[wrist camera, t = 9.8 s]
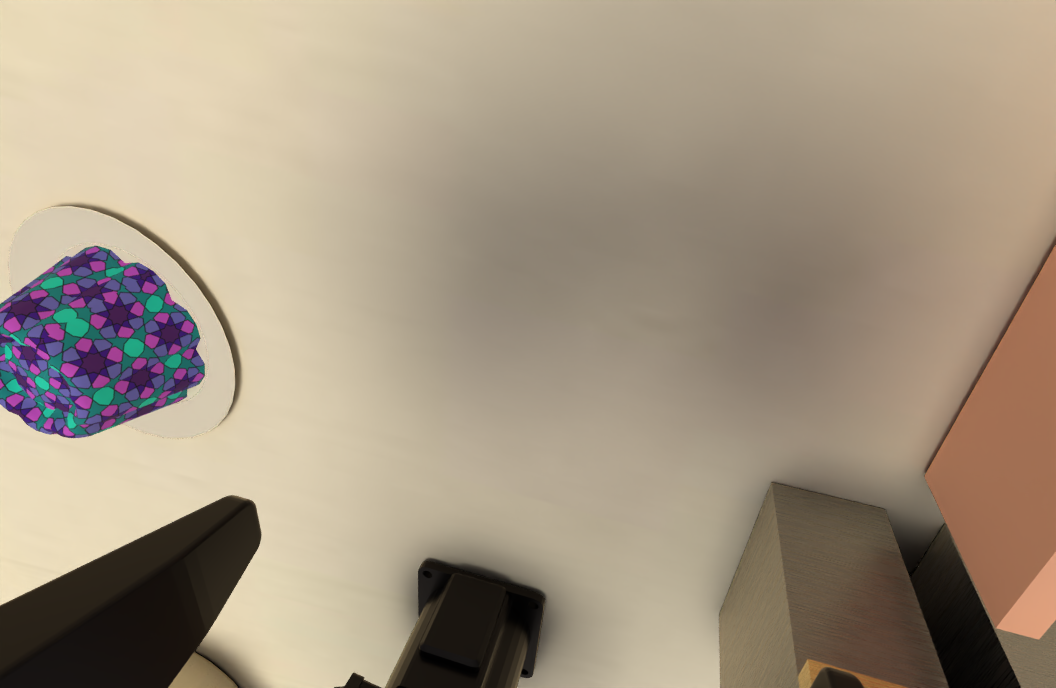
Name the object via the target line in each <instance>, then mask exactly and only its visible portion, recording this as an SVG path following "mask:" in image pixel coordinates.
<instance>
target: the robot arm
mask: <svg viewBox="0 0 1056 688" xmlns="http://www.w3.org/2000/svg"><path fill="white" fill-rule="evenodd" d="M260 541H261V529H260V524H259V519H258V514H257V509H256V505H255V503H254V502H253V501H252V500H249V499H246V498H242V497H239V496H234V495H230V496H226V497H224V498H222V499H220V500H217V501H215V502H213V503H211V504H209V505H207V506H205V507H203V508H201V509H199V510H197V511H195V512H193V513H191V514H189V515H186V516H184V517H182V518H180V519H178V520H176V521H174V522H172V523H170V524H168V525H166V526H164V527H162V528H160V529H157V530H155V531H153V532H151V533H149V534H147V535H145V536H143V537H141V538H139V539H137V540H135V541H133V542H131V543H129V544H126V545H124V546H122V547H120V548H118V549H116V550H114V551H112V552H110V553H108V554H106V555H104V556H102V557H100V558H98V559H95V560H93V561H91V562H89V563H87V564H85V565H83V566H81V567H79V568H77V569H75V570H73V571H71V572H69V573H66V574H64V575H62V576H60V577H58V578H56V579H54V580H52V581H50V582H48V583H46V584H44V585H42V586H40V587H38V588H35V589H33V590H31V591H29V592H27V593H25V594H23V595H21V596H19V597H17V598H15V599H13V600H11V601H9V602H7V603H4V604H2V605H0V688H168V687H169V686H170V685H171V683H172V682H173V680H174V679H175V678H176V676H177V675H178V674H179V672H180V671H181V669H182V668H183V667H184V665H185V664H186V663H187V661H188V660H189V658H190V657H191V656H192V654H193V653H194V651H195V650H196V649H197V647H198V646H199V644H200V643H201V642H202V640H203V639H204V637H205V636H206V634H207V633H208V631H209V630H210V628H211V627H212V625H213V623H214V622H215V620H216V619H217V617H218V615H219V613H220V612H221V610H222V608H223V607H224V605H225V603H226V602H227V600H228V598H229V597H230V595H231V593H232V591H233V590H234V588H235V586H236V585H237V583H238V581H239V580H240V578H241V576H242V575H243V573H244V571H245V569H246V568H247V566H248V564H249V563H250V561H251V559H252V558H253V556H254V554H255V553H256V551H257V549H258V547H259V544H260ZM418 599H419V619H418V621H417V623H416V625H415V627H414V629H413V631H412V633H411V635H410V637H409V639H408V641H407V643H406V645H405V648H404V650H403V652H402V654H401V656H400V658H399V660H398V662H397V664H396V666H395V668H394V670H393V672H392V674H391V676H390V678H389V681H388V683H387V685H386V687H385V688H517V685H518V682H519V678H520V676H521V677H524V678H530V677H532V675H533V672H534V669H535V663H536V657H537V651H538V644H539V638H540V632H541V625H542V619H543V613H544V606H545V598H544V597H543V596H542V595H541V594H539V593H537V592H534V591H530V590H527V589H524V588H520V587H517V586H513V585H510V584H507V583H503V582H500V581H496V580H493V579H489V578H486V577H483V576H479V575H476V574H472V573H469V572H465V571H462V570H459V569H455V568H452V567H448V566H445V565H441V564H438V563H435V562H431V561H424V562H423V563H422V564H421V566H420V568H419V571H418ZM364 678H365V677H363V676H360V675H358V674H356V673H353V674H352V675H351V677H350V679H349V680H348V682H347V683H346V685H345V686H344V687H334V688H381V687H379V686H376V685H374V684H372V683H370V682H368V681H366V680H364ZM810 688H864V686H863V685H862V683H861V682H860V680H859V679H858V678H857V677H856V676H854V675H853V674H851V673H848V672H844V671H841V670H838V669H834V668H831V667H824V668H822V669H821V670H820V671H819V673H818V675H817V677H816V678H815V680H814V682H813V683H812V685H811V687H810Z"/></svg>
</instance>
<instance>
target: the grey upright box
mask: <svg viewBox="0 0 1056 688" xmlns="http://www.w3.org/2000/svg"><path fill="white" fill-rule="evenodd" d="M719 647H720V688H810V687H811V685H812V683H813V682H814V680H815V678H816V677H817V675H818V673H819V671H820V670H821V669H822V668H824V667H831V668H834V669H838V670H841V671H844V672H848V673H851V674H853V675H854V676H856V677H857V678H858V679H859V680H860V682H861V683H862V685H863V686H864V688H1056V620H1055V622H1054V623H1053V624H1052V625H1051V626H1050V627H1049V628H1048V630H1047V631H1046V632H1045V633H1044V634H1043V635H1042V637H1041V638H1040V639H1039V640H1038V639H1034V638H1031V637H1027V636H1023V635H1019V634H1015V633H1012V632H1008V631H1004V630H1000V629H997V628H995V626H994V624H993V622H992V620H991V617H990V615H989V613H988V611H987V609H986V607H985V605H984V603H983V600H982V598H981V596H980V594H979V592H978V590H977V588H976V586H975V583H974V581H973V579H972V577H971V575H970V573H969V571H968V569H967V566H966V564H965V562H964V560H963V558H962V556H961V554H960V552H959V549H958V547H957V545H956V543H955V541H954V539H953V537H952V535H951V532H950V530H949V528H948V526H947V524H945V523H944V525H943V527H942V528H941V530H940V532H939V533H938V535H937V536H936V538H935V540H934V541H933V543H932V544H931V546H930V548H929V549H928V551H927V552H926V554H925V556H924V557H923V559H922V560H921V562H920V564H919V565H918V567H917V568H916V570H915V572H914V573H913V575H912V576H911V578H910V577H909V575H908V572H907V569H906V566H905V564H904V561H903V558H902V555H901V552H900V550H899V547H898V544H897V541H896V538H895V536H894V533H893V530H892V527H891V525H890V522H889V519H888V516H887V513H886V511H885V509H882V508H878V507H874V506H870V505H865V504H861V503H857V502H853V501H849V500H844V499H840V498H836V497H832V496H828V495H823V494H819V493H815V492H811V491H807V490H802V489H798V488H794V487H790V486H786V485H781V484H777V483H773V482H772V483H771V485H770V488H769V490H768V493H767V495H766V498H765V500H764V503H763V505H762V508H761V510H760V513H759V515H758V518H757V521H756V523H755V526H754V528H753V531H752V533H751V536H750V538H749V541H748V543H747V546H746V548H745V551H744V553H743V556H742V558H741V561H740V563H739V566H738V568H737V571H736V573H735V576H734V579H733V581H732V584H731V586H730V589H729V591H728V594H727V596H726V599H725V601H724V604H723V606H722V609H721V611H720V614H719Z"/></svg>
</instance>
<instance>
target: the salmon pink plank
mask: <svg viewBox="0 0 1056 688" xmlns="http://www.w3.org/2000/svg"><path fill="white" fill-rule="evenodd" d="M924 477H925V479H926V481H927V484H928V486H929V488H930V490H931V492H932V494H933V496H934V498H935V501H936V503H937V505H938V507H939V509H940V511H941V513H942V515H943V518H944V520H945V522H946V524H947V526H948V528H949V530H950V532H951V535H952V537H953V539H954V541H955V543H956V545H957V547H958V549H959V552H960V554H961V556H962V558H963V560H964V562H965V564H966V566H967V569H968V571H969V573H970V575H971V577H972V579H973V581H974V583H975V586H976V588H977V590H978V592H979V594H980V596H981V598H982V600H983V603H984V605H985V607H986V609H987V611H988V613H989V615H990V617H991V620H992V622H993V624H994V626H995V628H997V629H1000V630H1004V631H1008V632H1012V633H1015V634H1019V635H1023V636H1027V637H1031V638H1034V639H1038V640H1039V639H1040V638H1041V637H1042V635H1043V634H1044V633H1045V632H1046V631H1047V630H1048V628H1049V627H1050V626H1051V625H1052V624H1053V623H1054V622H1055V620H1056V245H1055V247H1054V248H1053V250H1052V252H1051V254H1050V255H1049V257H1048V259H1047V261H1046V262H1045V264H1044V266H1043V268H1042V269H1041V271H1040V273H1039V275H1038V276H1037V278H1036V280H1035V282H1034V284H1033V285H1032V287H1031V289H1030V291H1029V292H1028V294H1027V296H1026V298H1025V299H1024V301H1023V303H1022V305H1021V306H1020V308H1019V310H1018V312H1017V313H1016V315H1015V317H1014V319H1013V321H1012V322H1011V324H1010V326H1009V328H1008V329H1007V331H1006V333H1005V335H1004V336H1003V338H1002V340H1001V342H1000V343H999V345H998V347H997V349H996V350H995V352H994V354H993V356H992V358H991V359H990V361H989V363H988V365H987V366H986V368H985V370H984V372H983V373H982V375H981V377H980V379H979V380H978V382H977V384H976V386H975V387H974V389H973V391H972V393H971V395H970V396H969V398H968V400H967V402H966V403H965V405H964V407H963V409H962V410H961V412H960V414H959V416H958V417H957V419H956V421H955V423H954V424H953V426H952V428H951V430H950V432H949V433H948V435H947V437H946V439H945V440H944V442H943V444H942V446H941V447H940V449H939V451H938V453H937V454H936V456H935V458H934V460H933V461H932V463H931V465H930V467H929V469H928V470H927V472H926V474H925V476H924Z"/></svg>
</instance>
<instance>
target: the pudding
mask: <svg viewBox="0 0 1056 688" xmlns="http://www.w3.org/2000/svg"><path fill="white" fill-rule="evenodd" d="M82 244H100V245H106V246H111V247H113V248H116V249H119V250H122V251H125V252H126V253H128V254H130V255H132V256H134V257H136V258H138V259H140V260H141V261H142V262H144V263H145V264H147V265H148V266H150V267H151V268H152V269H154V270H155V271H156V272H157V273H158V274H159V275H161V276H162V277H163V278H164V279H165V280H166V281H167V282H168V283H169V284H170V285H171V286H172V287H173V288H174V289H175V291H176V292H177V293H178V294H179V295H180V296H181V298H182V299H183V301H184V302H185V303H186V305H187V306H188V308H189V309H190V311H191V312H192V314H193V316H194V318H195V320H196V321H197V323H198V325H199V328H200V330H201V333H202V335H203V338H204V341H205V346H206V350H207V357H208V369H207V376H206V379H205V382H204V384H203V386H202V388H201V389H200V390H199V392H198V393H197V394H196V395H195V396H193V397H192V398H190V399H189V400H186V401H184V402H181V403H177V402H179V401H181V400H182V399H184V398H186V397H187V389H188V388H191V387H193V386H196V385H198V384H200V383H201V381H202V379H203V378H204V376H205V364H204V362H203V360H202V359H201V357H200V356H199V354H198V352H197V351H196V347H197V345H198V343H199V340H200V335H199V332H198V329H197V325H196V323H195V322H194V320H193V319H192V317H191V316H190V314H189V313H188V311H187V310H186V309H184V308H183V307H181V306H179V305H178V304H176V303H175V302H173V301H172V300H171V297H170V295H169V292H168V289H167V287H166V284H165V283H164V282H163V281H162V280H161V279H160V278H159V277H158V276H157V275H156V274H155V273H154V272H153V271H152V270H150V269H149V268H147V267H145V266H144V265H142V264H140V263H124V262H123V261H122V260H121V259H120V258H119V257H118V256H116V255H115V254H114V253H113V252H112V251H111V250H109V249H106V248H102V247H99V246H93V247H88V248H85V249H83V250H82V251H80V252H79V253H78V254H76V255H75V256H73V257H68V256H66V257H65V258H63V259H62V260H61V261H59V262H58V263H57V261H58V260H59V258H60V257H61V256H62V255H63V253H65V252H66V251H68V250H69V249H71V248H72V247H75V246H79V245H82ZM8 270H9V280H10V286H11V289H12V293H13V295H12V296H11V297H9V298H8V299H7V300H5V301H4V302H3V303H1V304H0V404H1V405H2V406H3V407H4V408H5V409H7V410H8V411H9V412H12V413H14V414H17V415H19V416H20V417H21V418H22V419H23V421H24V422H25V423H26V424H27V425H28V426H30V427H32V428H33V429H35V430H36V431H40V432H43V433H46V434H58V435H60V436H62V437H67V438H81V437H87V436H91V435H94V434H97V433H99V432H102V431H104V430H107V429H109V428H112V427H115V426H117V425H120V424H124V425H126V426H128V427H131V428H133V429H136V430H138V431H141V432H143V433H146V434H150V435H154V436H158V437H162V438H173V439H184V438H193V437H196V436H199V435H202V434H205V433H207V432H209V431H210V430H212V429H214V428H215V427H217V426H218V425H219V424H220V422H221V421H222V420H223V419H224V418H225V416H226V415H227V413H228V411H229V409H230V406H231V404H232V402H233V396H234V390H235V369H234V363H233V359H232V354H231V350H230V346H229V344H228V341H227V338H226V336H225V333H224V330H223V328H222V326H221V324H220V322H219V320H218V318H217V316H216V314H215V313H214V311H213V309H212V307H211V305H210V304H209V302H208V301H207V299H206V298H205V296H204V295H203V294H202V292H201V291H200V289H199V288H198V286H197V285H196V284H195V282H194V281H193V280H192V279H191V278H190V277H189V276H188V274H187V273H186V272H185V271H184V270H183V269H182V268H181V267H180V265H179V264H178V263H177V262H176V261H175V260H173V259H172V258H171V257H170V256H169V255H168V254H167V253H166V252H165V251H164V250H162V249H161V248H160V247H159V246H158V245H157V244H155V243H154V242H153V241H151V240H150V239H148V238H147V237H146V236H144V235H143V234H141V233H140V232H138V231H137V230H136V229H134V228H132V227H130V226H128V225H126V224H125V223H123V222H121V221H119V220H117V219H115V218H113V217H111V216H108V215H105V214H102V213H99V212H97V211H94V210H91V209H85V208H79V207H73V206H61V207H50V208H47V209H44V210H41V211H38V212H36V213H34V214H33V215H31V216H30V217H29V218H27V219H26V220H24V221H23V223H22V224H21V225H20V227H19V228H18V229H17V231H16V232H15V234H14V237H13V240H12V243H11V245H10V249H9V260H8ZM174 403H175V404H174Z"/></svg>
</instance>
